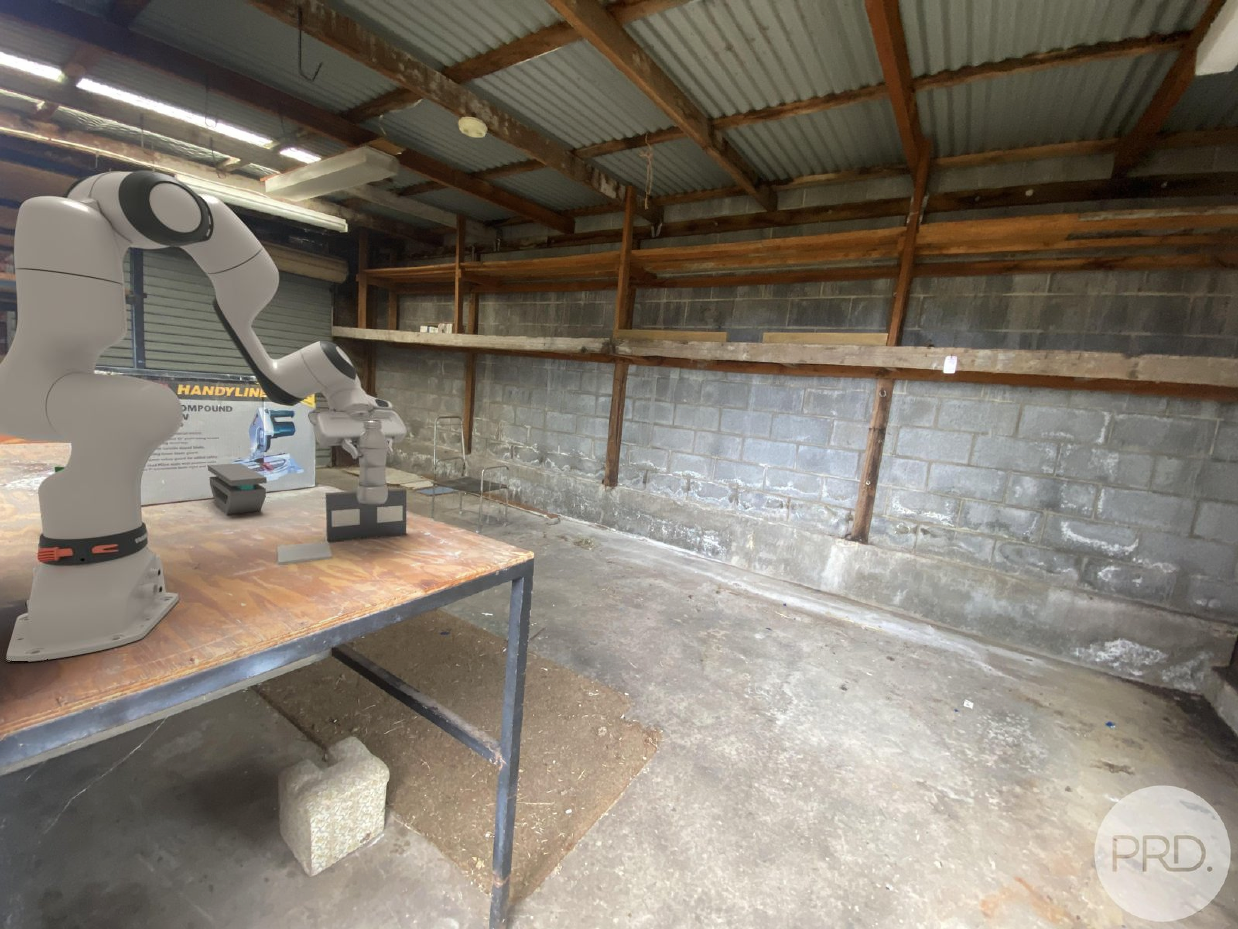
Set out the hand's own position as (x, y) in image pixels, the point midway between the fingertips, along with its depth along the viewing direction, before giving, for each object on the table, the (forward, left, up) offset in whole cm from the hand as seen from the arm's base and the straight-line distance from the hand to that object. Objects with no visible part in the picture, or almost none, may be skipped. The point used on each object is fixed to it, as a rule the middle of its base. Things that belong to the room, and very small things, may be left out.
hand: (374, 456), depth 116 cm
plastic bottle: (+1, 0, -12) cm, 12 cm away
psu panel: (+10, 0, -23) cm, 25 cm away
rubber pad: (+3, +14, -23) cm, 27 cm away
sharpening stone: (+50, +28, -23) cm, 62 cm away
